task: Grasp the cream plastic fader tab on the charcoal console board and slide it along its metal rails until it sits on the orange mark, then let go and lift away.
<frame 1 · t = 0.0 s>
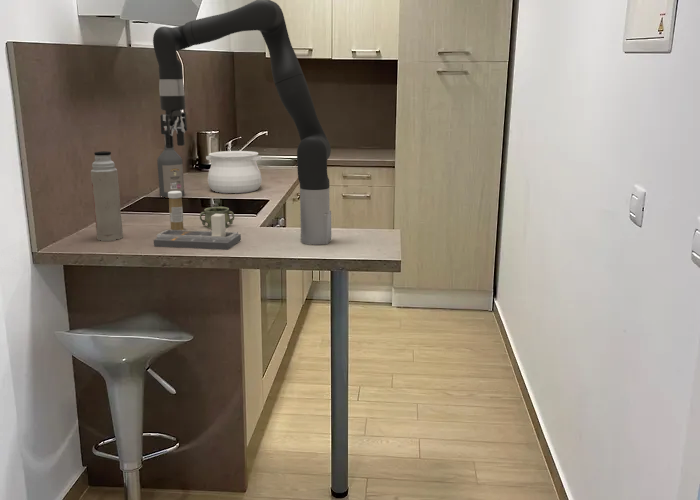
hand: (175, 146, 218), 29 cm above the worktop, fingers open, 8 cm apart
pot: (235, 190, 316), on the worktop
liquor: (172, 197, 299), on the worktop
fader: (218, 226, 213), point 6 cm above the worktop, slide at -7.0 cm
vessel: (217, 227, 240), on the worktop
thermos bottle: (110, 238, 223), on the worktop
console: (198, 243, 216), on the worktop
sprinkles bottle: (177, 231, 233), on the worktop
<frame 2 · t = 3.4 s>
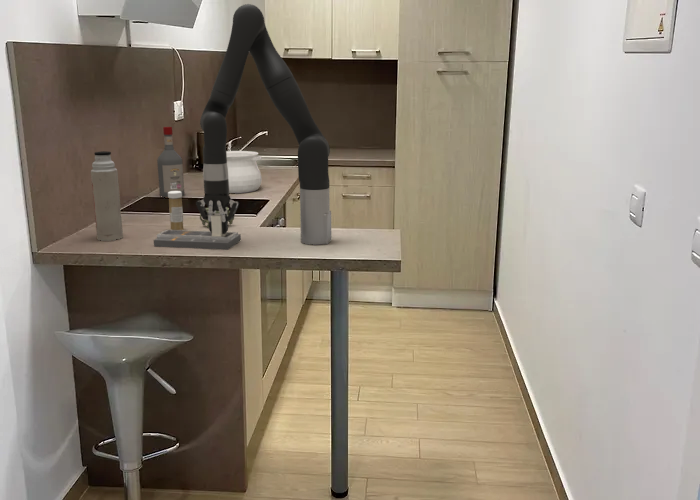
hand: (218, 232, 214), 4 cm above the worktop, fingers closed on fader, 3 cm apart
fader: (218, 226, 213), point 6 cm above the worktop, slide at -7.0 cm, touching gripper
everything else where it was.
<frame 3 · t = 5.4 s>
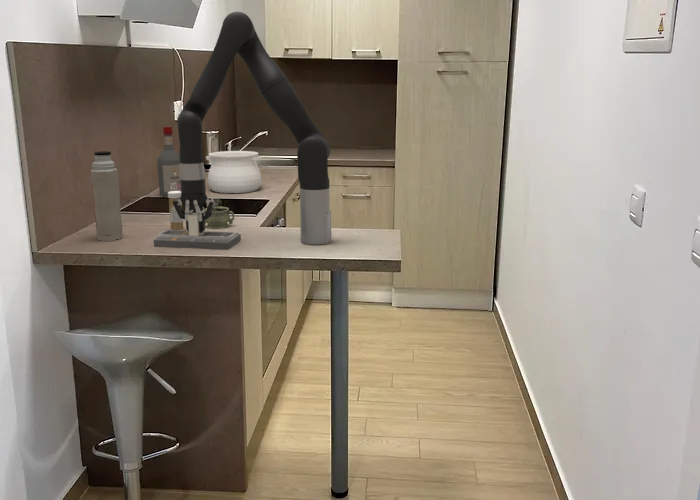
hand: (195, 231, 215), 4 cm above the worktop, fingers closed on fader, 3 cm apart
fader: (195, 225, 214), point 6 cm above the worktop, slide at 0.5 cm, touching gripper
everything else where it was.
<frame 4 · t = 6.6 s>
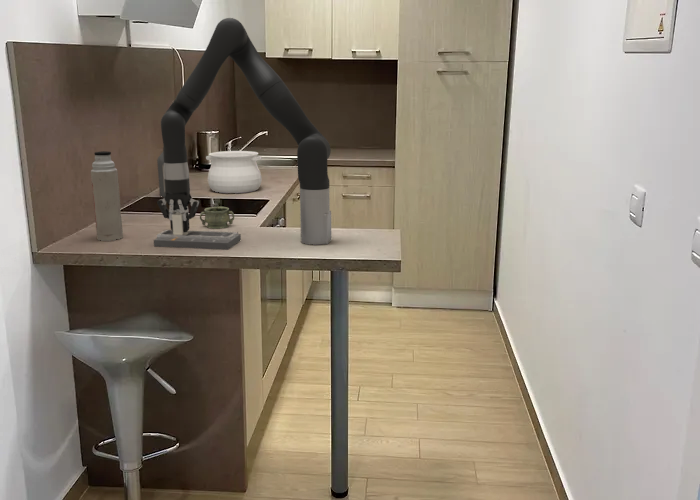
hand: (180, 231, 216), 4 cm above the worktop, fingers closed on fader, 3 cm apart
fader: (179, 224, 215), point 6 cm above the worktop, slide at 5.7 cm, touching gripper
everything else where it was.
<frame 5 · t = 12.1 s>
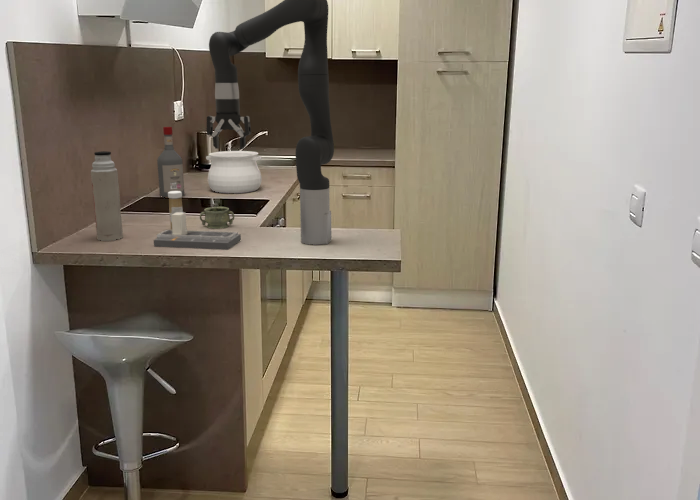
hand: (229, 148, 223), 28 cm above the worktop, fingers open, 8 cm apart
fader: (179, 224, 215), point 6 cm above the worktop, slide at 5.9 cm
everything else where it was.
at the end: fader slide at 5.9 cm; the gripper is holding nothing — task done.
